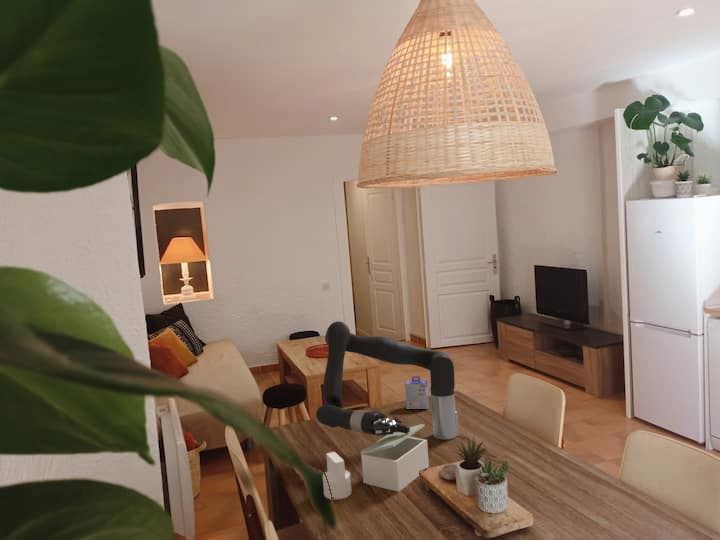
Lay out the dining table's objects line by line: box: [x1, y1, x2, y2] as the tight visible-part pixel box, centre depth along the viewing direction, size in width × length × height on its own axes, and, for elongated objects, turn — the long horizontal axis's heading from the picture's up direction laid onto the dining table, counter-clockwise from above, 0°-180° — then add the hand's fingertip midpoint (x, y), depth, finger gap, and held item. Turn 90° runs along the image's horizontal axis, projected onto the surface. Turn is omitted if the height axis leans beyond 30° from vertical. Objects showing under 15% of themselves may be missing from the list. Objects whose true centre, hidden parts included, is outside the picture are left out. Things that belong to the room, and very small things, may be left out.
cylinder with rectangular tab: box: [322, 451, 352, 500], centre depth 191 cm, size 9×9×12 cm
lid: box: [360, 423, 426, 455], centre depth 200 cm, size 14×21×1 cm
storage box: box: [360, 436, 430, 493], centre depth 200 cm, size 14×20×10 cm
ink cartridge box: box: [404, 375, 430, 410], centre depth 268 cm, size 10×6×14 cm, turn 78°
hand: (408, 429), depth 196 cm, fingers closed
